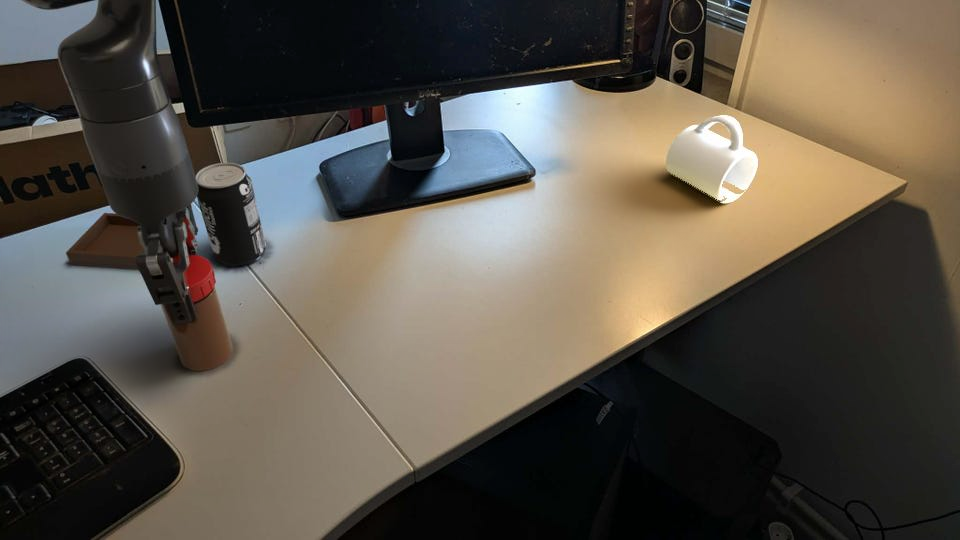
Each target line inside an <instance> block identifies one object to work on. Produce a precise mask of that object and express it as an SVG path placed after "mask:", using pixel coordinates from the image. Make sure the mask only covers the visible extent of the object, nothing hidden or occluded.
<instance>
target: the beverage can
mask: <svg viewBox="0 0 960 540" xmlns="http://www.w3.org/2000/svg"><path fill="white" fill-rule="evenodd" d="M195 177H196V181H197V184H198V195H197V197H196V199H197V203H198V206H199V209H200V214H201V216H202V220H203V224H204V226H205V229H206V233H207V237H208V241H209V243H210V246H211V247H210V248H211V250H212V253H213V257H214V258H215V260H217V262H220V263H222V264H223V265H226V266H228V267H229V266H230V267H244V266H249V265H251V264H253V263H254V262H257V261H258V260H259V259H260V258H261V257H262V255H263V254H264V253H265V251H266V248H267V243H266V237H265V233H264V229H263V225H262V220H261V216H260V212H259V208H258V204H257V200H256V195H255V191H254V186H253V182H252V179H251V177H250V176H249V175H248V174H247V173H246V169H245V167H243V165H241V164H239V163H236V162H235V163H234V162H219V163H214V164H209V165H207V166H205V167H202V168H201V169H200V170H199V171H198V172H197V173H196V174H195Z"/></svg>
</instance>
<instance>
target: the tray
mask: <svg viewBox="0 0 960 540" xmlns="http://www.w3.org/2000/svg"><path fill="white" fill-rule="evenodd" d="M139 226H140V224H139V223H137V222H135V221H133V220H130V219H128V218H124V217H121V216H119V215H118V214H116V213H115V212H112V213H111V212H104V213H102V214H101V216H99V218H98V219H96V221H94V222H93V224H92V225H91V226H90V227H89V228H88V229H87V230H86V231H85V232H84V233H83V234H82V235H81V236H80V237H79V238H78V239H77V240H76V241H75V243H74V244H72V245H71V246H70V247H69V248H68V249H67V251H66V252H65V254H66V256H67V259H68V261H69V263H70V265H71V266H81V267H95V268H109V269H110V268H112V269H122V270H123V269H124V270H125V269H126V270H138V271H139V269H138V267H137V265H136V257H137V255H145V252H144V247H143V246H142V245H141V244H140V242H139V237H138V232H137V229H138V227H139Z"/></svg>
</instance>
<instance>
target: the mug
mask: <svg viewBox="0 0 960 540" xmlns="http://www.w3.org/2000/svg"><path fill="white" fill-rule="evenodd" d="M715 124H721V125H723V126H724V127H725V128H726V129H727V131H728V134H729V138H730V139H728V138H725V137H723V136H721V135H719V134H717V133H714V132H713V131H710V130H709V128H710V127H712V126H713V125H715ZM665 168H666V170H667V172H668V173H669V172H670V173H671V174H670V173H669V174H670V175H672V174H673V175H672V176H674V175H675V176H674V177H675V178H677V177H678V178H677V179H679V178H680V179H679V180H681V179H682V180H681V181H683V182H684V181H685V182H684V183H686V182H687V183H686V184H688V183H689V184H688V186H689V185H690V184H691V185H692V186H691V185H690V186H691V187H693V186H694V187H693V188H695V187H696V188H695V189H696V190H698V189H699V190H698V191H700V190H701V191H700V192H701V193H703V194H705V193H707V194H708V195H707V194H706V195H707V196H708V197H710V198H712V197H714V198H715V199H714V198H713V199H714V200H716V199H717V200H716V201H717V202H719V201H718V200H722V199H724V197H725V198H727V199H726V200H725V201H723V202H720V203H721V204H730V203H732V202H734V201H736V200H737V199H738V198H740V197H741V196H742V195H743V193H741V194H735V193H733V192H731V191H729V190H728V189H726V188H724V187H722V184H723V181H726V182H728V183H730V184H732V185H735V187H738V188H739V189H741V190H745V189H746V190H747V189H748V188H749V186H750V184H751V183H752V181H753V179H754V178H755V175H756V172H757V170H758V169H757V168H758V157H757V154H756V153H755V152H753V151H751V150H750V149H747V148H745V147H744V146H743V131H742V128H741V125H740V123H739V122H738V121H737V120H736V119H735V118H734V117H732V116H730V115H727V114H726V115H724V114H723V115H722V114H721V115H715V116H712V117H709V118H707V119H705V120H703V121H702V122H700V123H698V125H697V124H694V125H690V126H687V127H685V128H684V129H683V130H682V131H680V133H678V134H677V135H676V137H675V138H674V139H673V141H672V142H671V144H670V146H669V148H668V151H667V154H666V157H665ZM697 188H698V189H697ZM746 190H745V191H746ZM702 191H703V192H702ZM704 192H705V193H704ZM709 195H710V196H709ZM711 196H712V197H711ZM723 196H724V197H723Z"/></svg>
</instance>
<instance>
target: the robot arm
mask: <svg viewBox="0 0 960 540" xmlns="http://www.w3.org/2000/svg"><path fill="white" fill-rule="evenodd" d="M21 1H22V2H23V3H25V4H27V5H29V6H31V7H34V8H36V9H39V10H44V11H45V10H46V11H51V10H52V11H54V10H61V9H65V8H66V9H67V8H69V7H74V6H78V5H81V4H86V3H89V2H94V1H95V0H21ZM159 59H160V58H159V57H158V48H157V0H97V7H96V12H95V15H94V16H93V18H92V20H91V21H89V22H88V23H87V24H85V25H84V26H82V27H81V28H79V29H77V30H76V31H74V32H73V33H71V34H69V35H68V36H66V37H65V38H63V40H62V41H61V42H60V43H59V45H58V48H57V60H58V64H59V68H60V69H61V72H62V75H63V78H64V80H65V83H66V85H67V88H68V91H69V93H70V96H71V98H72V102H73V103H74V106H75V109H76V111H77V113H78V118H79V121H80V125H81V129H82V135H83V138H84V141H85V145H86V147H87V150H88V152H89V153H88V154H89V155H90V158H91V160H92V163H93V166H94V169H95V171H96V173H97V176H98V178H99V181H100V184H101V186H102V190H103V191H104V193H105V197H106V199H107V202H108V204H109V205H108V206H109V207H110V208H111V210H112V211H113V213H115V214H118V215H119V216H121V217H124V218H128V219H130V220H133V221H135V222H137V223H139V224H140V226H139V227H138V229H137V232H138V237H139V242H140V244H141V245H142V246H143V247H144V252H145V255H137V257H136V265H137V267H138V269H139V270H138V269H137V270H138V271H139V273H140V275H141V278H142V279H143V282H144V284H145V286H146V289H147V290H148V293H149V295H150V296H151V298H152V301H153V303H154V305H155V306H161V305H160V304H167V307H168V310H169V313H170V315H171V318H172V321H173V323H174V324H177V325H181V324H188V323H194V322H196V320H197V312H196V309H195V306H194V303H193V300H192V297H191V294H190V288H189V286H188V281H187V276H186V270H187V269H188V268H189V266H190V262H189V256H188V255H198V253H197V250H198V246H199V245H198V241H197V239H196V236H198V232H199V228H198V226H197V223H196V219H195V215H194V210H193V208H192V207H193V206H192V204H193V202H194V201H195V200H196V199H197V195H198V184H197V181H196V174H195V170H194V167H193V163H192V159H191V157H190V152H189V149H188V146H187V142H186V138H185V136H184V135H185V134H184V131H183V127H182V125H181V122H180V119H179V116H178V115H177V112H176V110H175V108H174V106H173V103H172V100H171V98H170V93H169V91H168V86H167V84H166V80H165V76H164V73H163V69H162V66H161V63H160V60H159ZM177 256H180V262H174V263H173V259H172V258H175V257H177ZM177 274H178V275H177Z"/></svg>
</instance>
